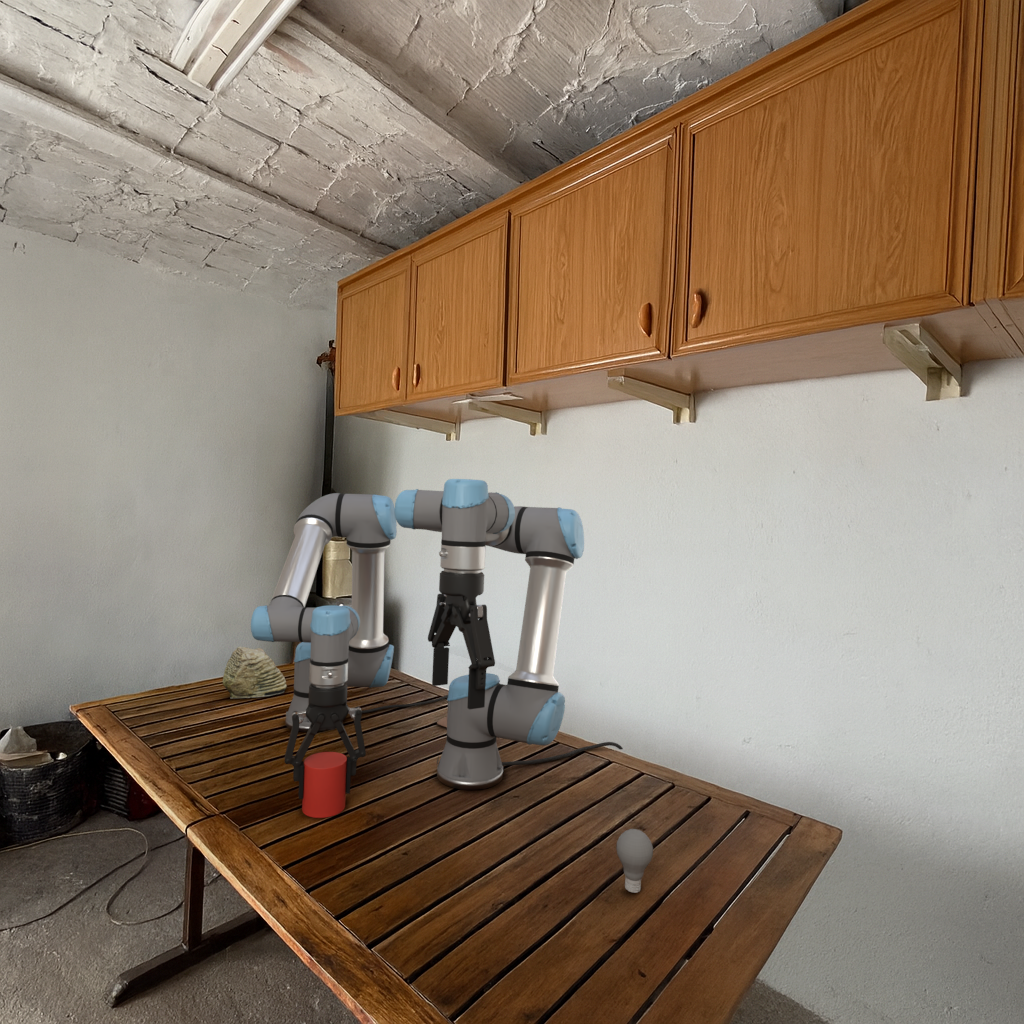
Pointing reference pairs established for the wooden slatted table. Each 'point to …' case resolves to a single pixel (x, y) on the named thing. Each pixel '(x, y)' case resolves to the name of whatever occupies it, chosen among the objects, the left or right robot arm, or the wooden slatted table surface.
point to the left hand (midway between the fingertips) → (324, 793)
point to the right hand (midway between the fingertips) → (456, 695)
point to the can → (324, 784)
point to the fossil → (252, 674)
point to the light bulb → (634, 857)
